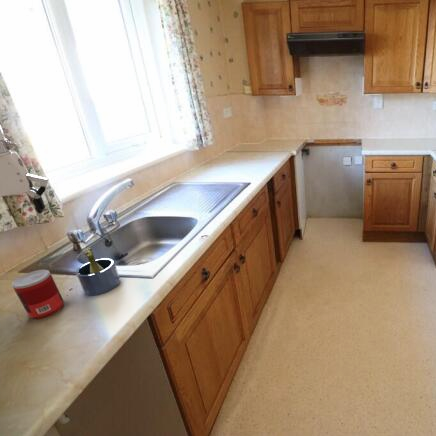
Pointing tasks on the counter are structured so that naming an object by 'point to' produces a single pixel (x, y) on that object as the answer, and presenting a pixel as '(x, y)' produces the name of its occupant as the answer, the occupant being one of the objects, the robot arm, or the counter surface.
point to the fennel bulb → (93, 262)
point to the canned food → (38, 293)
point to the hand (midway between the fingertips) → (17, 215)
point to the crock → (98, 277)
